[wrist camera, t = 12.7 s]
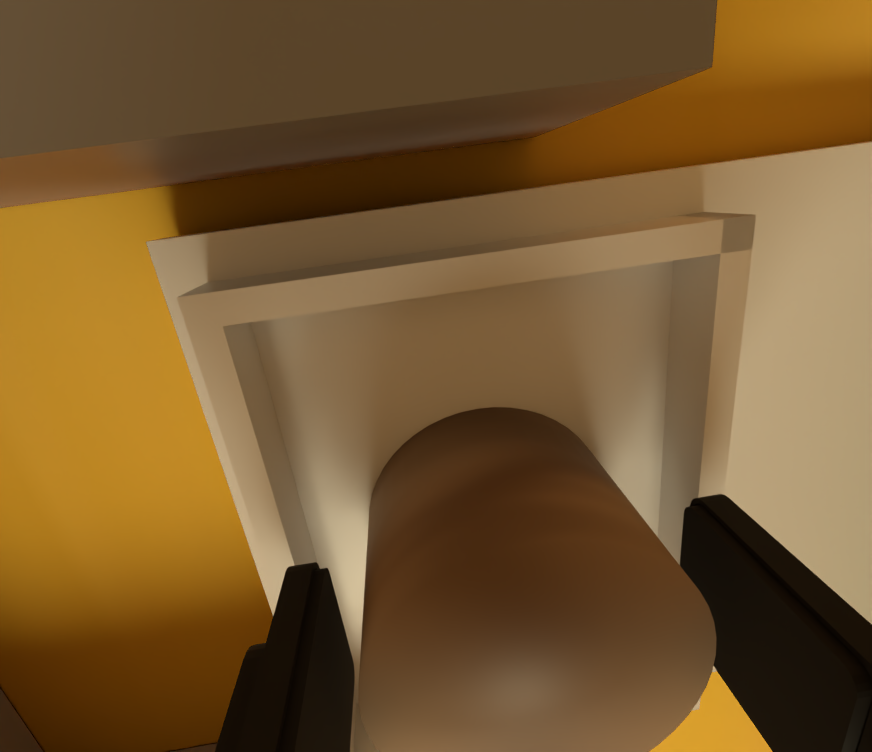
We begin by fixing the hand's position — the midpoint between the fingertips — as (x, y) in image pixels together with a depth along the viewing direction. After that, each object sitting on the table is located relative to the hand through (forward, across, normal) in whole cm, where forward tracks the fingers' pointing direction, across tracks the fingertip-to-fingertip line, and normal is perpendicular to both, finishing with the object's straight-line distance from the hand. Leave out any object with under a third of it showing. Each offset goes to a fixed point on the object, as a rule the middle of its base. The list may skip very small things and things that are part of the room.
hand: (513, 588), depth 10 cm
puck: (+3, 0, 0) cm, 3 cm away
